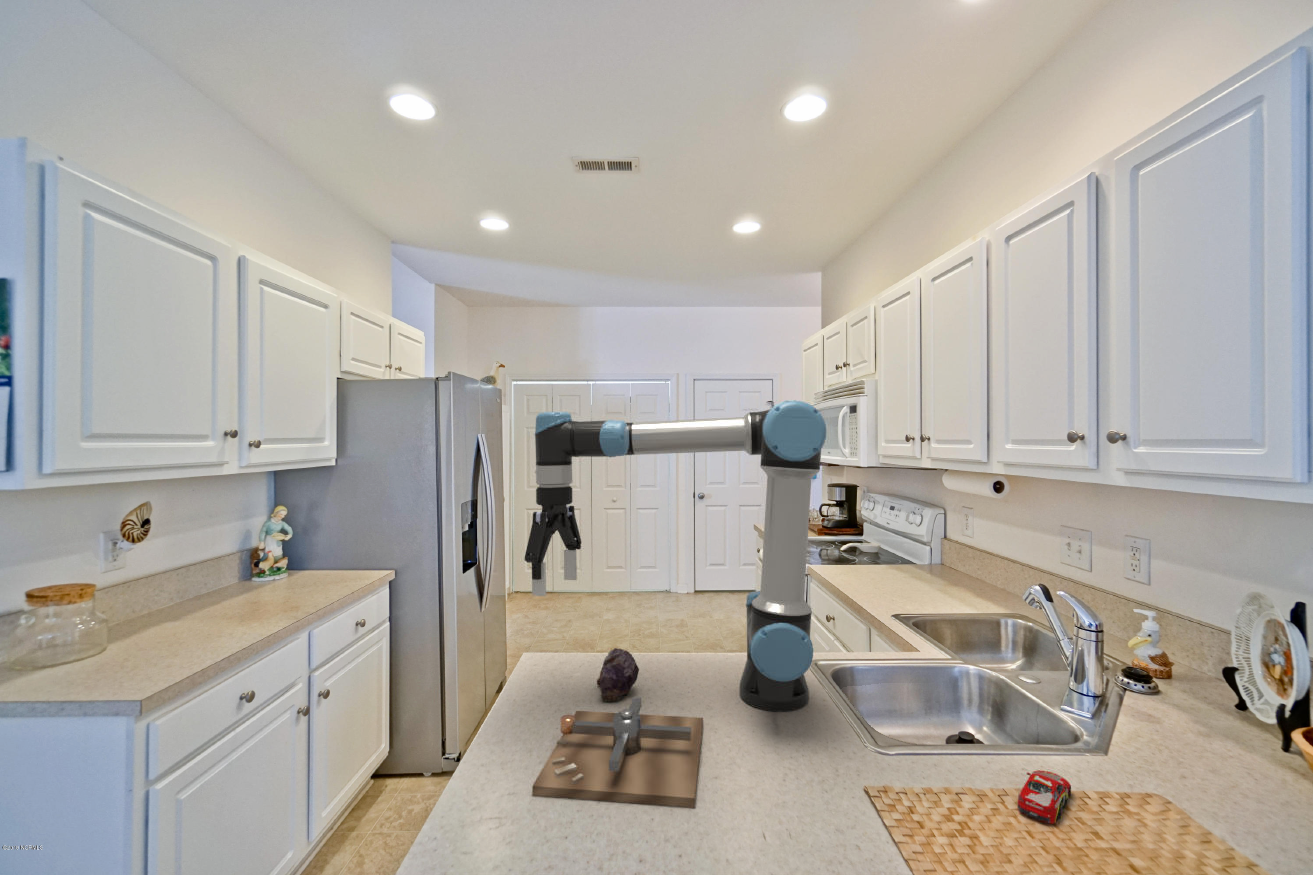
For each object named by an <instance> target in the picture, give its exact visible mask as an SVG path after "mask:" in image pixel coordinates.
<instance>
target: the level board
mask: <svg viewBox="0 0 1313 875" xmlns="http://www.w3.org/2000/svg"><path fill="white" fill-rule="evenodd" d="M616 713H617V712H606V711H588V710H587V711H586V710H575V713H574V716H575V720H576V721H593V722H610V723H613V716H614V715H615V714H616ZM639 714H640V716H641V724H644V725H661V726H679V727H691V741H684V740H668V739H652V738H641V750H640V751H639V752H638V753H636V754H634V755H629V756H624V758H623V761H622V763H621V766H620V769H619V771H609V759H610V756H611V754H612V751H613V736H603V735H587V734H569V735H564V734H561V736H560V738H558V739H557V740H556V745H555V747H554V749H553V751H551V754H550V755H549V757H548V759H547V760H546V761H545V764H544V766H543V767H542V768H541V771H540V772H539V774H538V776H537V777H536V779H535V781H534V782H533V784H532V786H531V788H532V789H531V793H532V796H535V797H537V796H538V797H549V798H550V797H551V798H562V799H572V800H573V799H574V800H575V799H576V800H588V801H589V800H590V801H600V802H601V801H602V802H611V803H612V802H615V803H627V804H640V805H652V806H667V807H676V808H677V807H679V808H692V809H695V808H696V799H697V787H698V778H699V768H700V759H701V748H702V739H703V728H704V717H693V716H677V715H661V714H660V715H659V714H658V715H657V714H641V713H639Z"/></svg>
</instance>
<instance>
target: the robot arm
mask: <svg viewBox="0 0 1313 875" xmlns="http://www.w3.org/2000/svg"><path fill="white" fill-rule="evenodd" d="M826 438H827V425H826V421H825V419H824V417H823V415H822V413H821V412H820V411H819V410H818V409H817V408H816V407H815V406H814V405H812V404H810V403H808V402H805V401H801V400H796V399H795V400H784V401H782V402H779V403H777V404H775V405H774V406H773V407H772V408H770V409H766V410H760V411H754V412H753V411H752V412H750V411H748V412H747V413H746V414H745V415H744V416H742V417H741V416H739V417H738V416H737V417H719V418H700V419H699V418H698V419H697V418H696V419H681V420H679V419H678V420H660V421H659V420H655V421H653V420H652V421H637V422H636V421H635V422H625V421H624V420H615V419H608V420H589V421H586V420H585V421H578V420H577V421H574V420H573V419H572V414H571V413H570V412H566V411H545V412H539V413H538V414H537V415H536V417H535V431H534V441H535V444H534V445H535V467H536V468H535V469H536V470H535V471H534V473H535V477H536V479H535V483H536V485H538V486H537V488H535V503H536V505H537V506H541V511H533V512H532V523H531V528H530V533H529V537H528V542H527V544H526V545H527V546H526V550H525V555H524V561H525V562H526V563H528V564H529V563H530V564H531V595H532V596H535V597H536V596H537V597H546V596H547V566H546V565H547V563H546V562H545V560H544V559H545V557H546V553H547V551H548V548H549V545H550V542H551V540H552V537H553V535H555V534H556V532H558V535H559V536H560V539H561V541H562V543H563V544H564V547H565V549H563V580H565V581H577V579H578V577H577V576H578V575H577V574H578V573H577V572H578V571H577V570H578V569H577V568H578V567H577V550H581V549H582V539H581V535H580V531H579V526H578V524H577V519H576V512H575V505H571V504H572V503H573V487H572V486H571V484H572V483H573V458H580V457H581V458H582V457H584V458H585V457H589V458H591V457H592V458H594V457H595V458H596V457H597V458H603V457H607V458H616V457H623V456H637V455H639V456H640V455H641V456H642V455H660V454H662V455H663V454H689V453H690V454H691V453H719V452H720V453H721V452H746V453H747V454H748V455H749V456H755V455H757V456H758V455H759V456H760V465H759V466H760V468H761V469H762V470H763V472H764V473H765V474H766V476H767V477H766V478H767V479H766V493H765V494H766V495H765V496H766V497H765V510H764V527H763V528H764V529H763V541H762V542H763V543H762V545H763V546H762V560H761V561H762V562H761V575H760V576H761V577H760V590H756V591H755V590H754V591H752V592H749V593H748V594H747V595H746V603H745V607H746V660H745V661H746V662H745V665H744V668H743V672H742V674H741V677H740V678H741V679H740V680H739V697H740V699H741V700H742V701H743V702H745V703H746V704H747V705H749V706H752V707H754V708H758V709H760V710H765V711H770V712H771V711H772V712H789V711H795V710H798V709H801V708H804V707H805V706H806V705H807V704H808V703H809V700H810V697H809V696H810V694H809V693H810V690H809V686H808V682H807V680H806V677H805V673H807V671H808V670H809V669H810V667H811V665H812V663H813V658H814V647H813V642H812V640H811V628H812V626H811V624H812V608H811V607H812V606H810V605H809V604H808V603H807V601H806V600H805V594H806V593H805V590H806V573H807V559H808V558H807V557H808V542H809V541H808V540H809V539H808V538H809V523H810V509H811V506H810V504H811V494H812V493H811V490H812V479H813V478H814V476H816V475H817V474H818V473H819V472H820V471H821V459H822V458H821V457H822V448H823V446H824V445H825V441H826Z"/></svg>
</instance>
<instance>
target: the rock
mask: <svg viewBox="0 0 1313 875" xmlns="http://www.w3.org/2000/svg"><path fill="white" fill-rule="evenodd" d="M639 671H640V669H639V666H638V664H637V662H636V659H635V658H634V656H633V655H632V653H630V651H628V650H624V649H623V648H618V647H615V648H614V649H611V650H610V651H609V652H608V653H607V656H605V658H604V660H603V664H602V667H601V670H600V671H599V673H600V674H599V677H598V678H597V679H596V684H597V686H598V687H600V691H601V695H600V696H601V699H602V700H603V701H605V702H611V703H613V702H617V701H619V700H620V699H621V698H622V696H623V695H624V696H625V695H628V694H629V693H630V692H631V688H632V687H633V686H634V685H635V683H636V682H637V679H638V676H639Z"/></svg>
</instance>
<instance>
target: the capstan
mask: <svg viewBox="0 0 1313 875" xmlns="http://www.w3.org/2000/svg"><path fill="white" fill-rule="evenodd" d="M641 709H642V697H632V700H631V703H630V705H629V708H627V709H626V708H625V709H622V710H621V711H619V712H615V713H616V714H615V715H614V716H613V723H610V722H593V721H576V720H575V716H574V715H573V714H563V715H562V716H561V717H560V733H561V735H563V734H564V735H569V734H587V735H603V736H613V751H612V754H611V756H610V759H609V771H619V769H620V766H621V763H622V761H623V758H624V756H629V755H634V754H636V753H638V752H639V751H640V750H641V738H652V739H668V740H684V741H691V727H679V726H661V725H644V724H641V716H640V714H641V713H640V711H641Z"/></svg>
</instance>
